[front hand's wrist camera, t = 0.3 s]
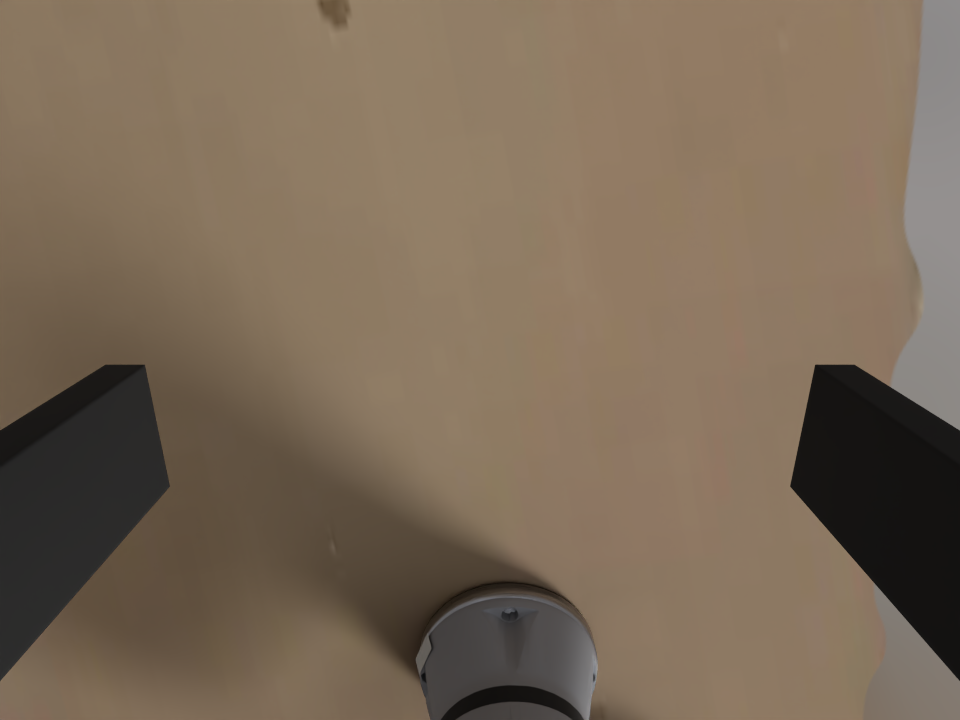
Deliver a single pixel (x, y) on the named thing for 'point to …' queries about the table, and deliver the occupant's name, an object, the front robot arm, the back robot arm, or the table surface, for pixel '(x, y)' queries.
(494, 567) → the table surface
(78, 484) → the front robot arm
